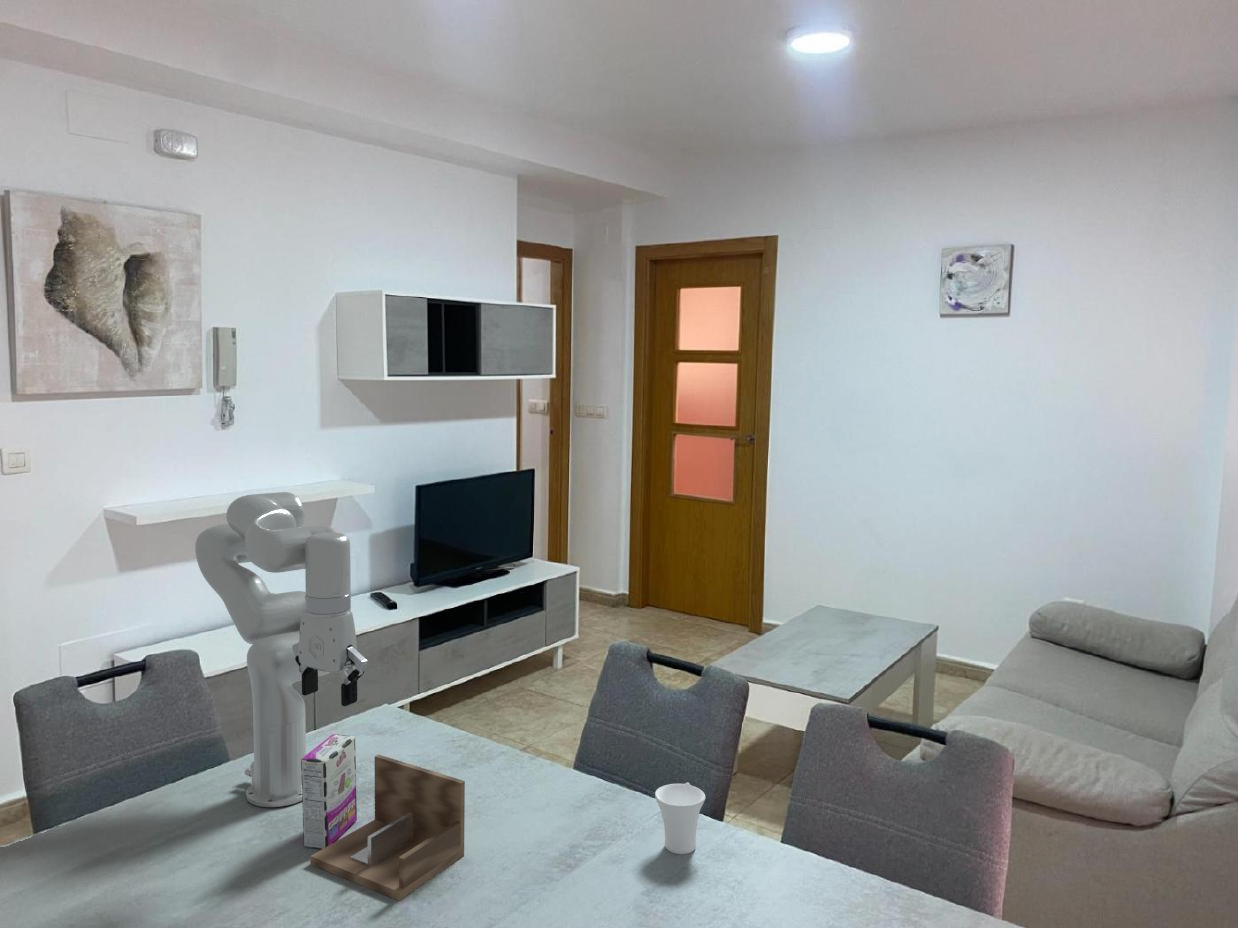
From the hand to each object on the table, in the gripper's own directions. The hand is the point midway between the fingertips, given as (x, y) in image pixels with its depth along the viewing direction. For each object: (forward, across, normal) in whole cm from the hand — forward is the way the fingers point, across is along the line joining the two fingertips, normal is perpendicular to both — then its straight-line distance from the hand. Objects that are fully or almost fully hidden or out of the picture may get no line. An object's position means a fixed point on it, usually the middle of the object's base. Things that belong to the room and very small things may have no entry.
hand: (329, 698), depth 164 cm
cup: (+26, +55, +30) cm, 67 cm away
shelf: (+25, +15, -1) cm, 29 cm away
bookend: (+24, +13, -1) cm, 27 cm away
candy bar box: (+25, 0, 0) cm, 25 cm away
